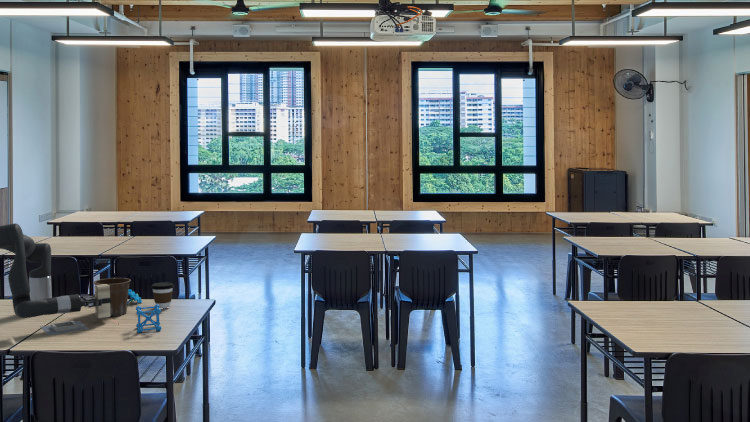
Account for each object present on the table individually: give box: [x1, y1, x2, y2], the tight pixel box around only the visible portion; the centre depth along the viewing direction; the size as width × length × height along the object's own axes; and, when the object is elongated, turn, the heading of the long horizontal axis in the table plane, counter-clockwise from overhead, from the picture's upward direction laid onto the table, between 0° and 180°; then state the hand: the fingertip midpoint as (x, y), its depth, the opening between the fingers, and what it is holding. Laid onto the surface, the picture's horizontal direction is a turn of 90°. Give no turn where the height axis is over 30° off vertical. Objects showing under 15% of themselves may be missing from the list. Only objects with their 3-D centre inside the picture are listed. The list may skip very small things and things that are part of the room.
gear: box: [127, 288, 143, 305], centre depth 317 cm, size 11×6×10 cm
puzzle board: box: [40, 320, 90, 336], centre depth 267 cm, size 16×16×2 cm
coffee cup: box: [150, 281, 175, 308], centre depth 307 cm, size 11×11×12 cm
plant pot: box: [93, 277, 131, 317], centre depth 295 cm, size 16×16×16 cm
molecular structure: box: [135, 304, 162, 334], centre depth 269 cm, size 10×10×10 cm
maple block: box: [94, 284, 111, 319], centre depth 276 cm, size 5×5×14 cm
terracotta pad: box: [109, 317, 120, 325], centre depth 277 cm, size 12×10×1 cm
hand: (108, 299), depth 278 cm, fingers closed on maple block, 5 cm apart
